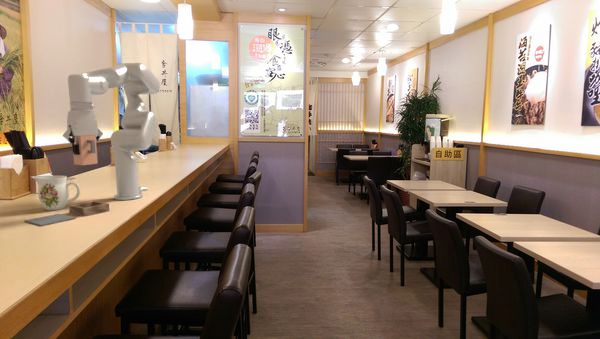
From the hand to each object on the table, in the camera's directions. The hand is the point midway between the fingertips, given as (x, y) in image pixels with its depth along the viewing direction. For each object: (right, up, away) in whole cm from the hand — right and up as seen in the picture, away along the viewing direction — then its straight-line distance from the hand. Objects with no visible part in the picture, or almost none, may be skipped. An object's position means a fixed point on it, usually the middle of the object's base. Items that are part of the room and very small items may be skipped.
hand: (85, 153), depth 162 cm
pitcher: (-17, -23, +10) cm, 30 cm away
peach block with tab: (+1, -4, 0) cm, 4 cm away
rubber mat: (-8, -25, -10) cm, 28 cm away
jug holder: (0, -23, +3) cm, 23 cm away
